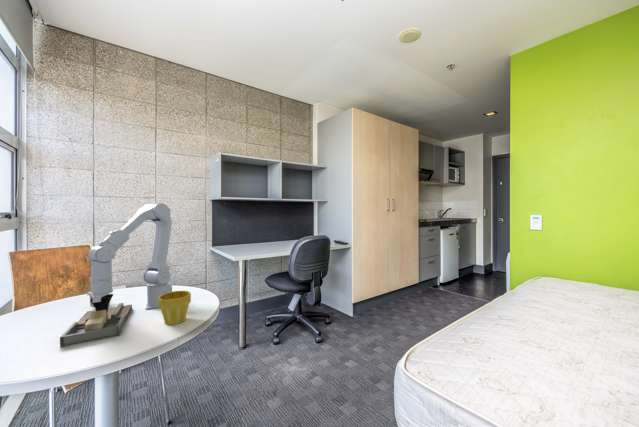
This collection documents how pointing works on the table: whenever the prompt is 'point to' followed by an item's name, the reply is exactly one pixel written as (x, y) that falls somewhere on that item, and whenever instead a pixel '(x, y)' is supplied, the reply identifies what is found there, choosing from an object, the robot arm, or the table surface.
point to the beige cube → (94, 324)
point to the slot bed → (109, 314)
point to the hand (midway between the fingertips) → (102, 316)
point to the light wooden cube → (99, 315)
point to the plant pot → (174, 306)
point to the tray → (91, 333)
